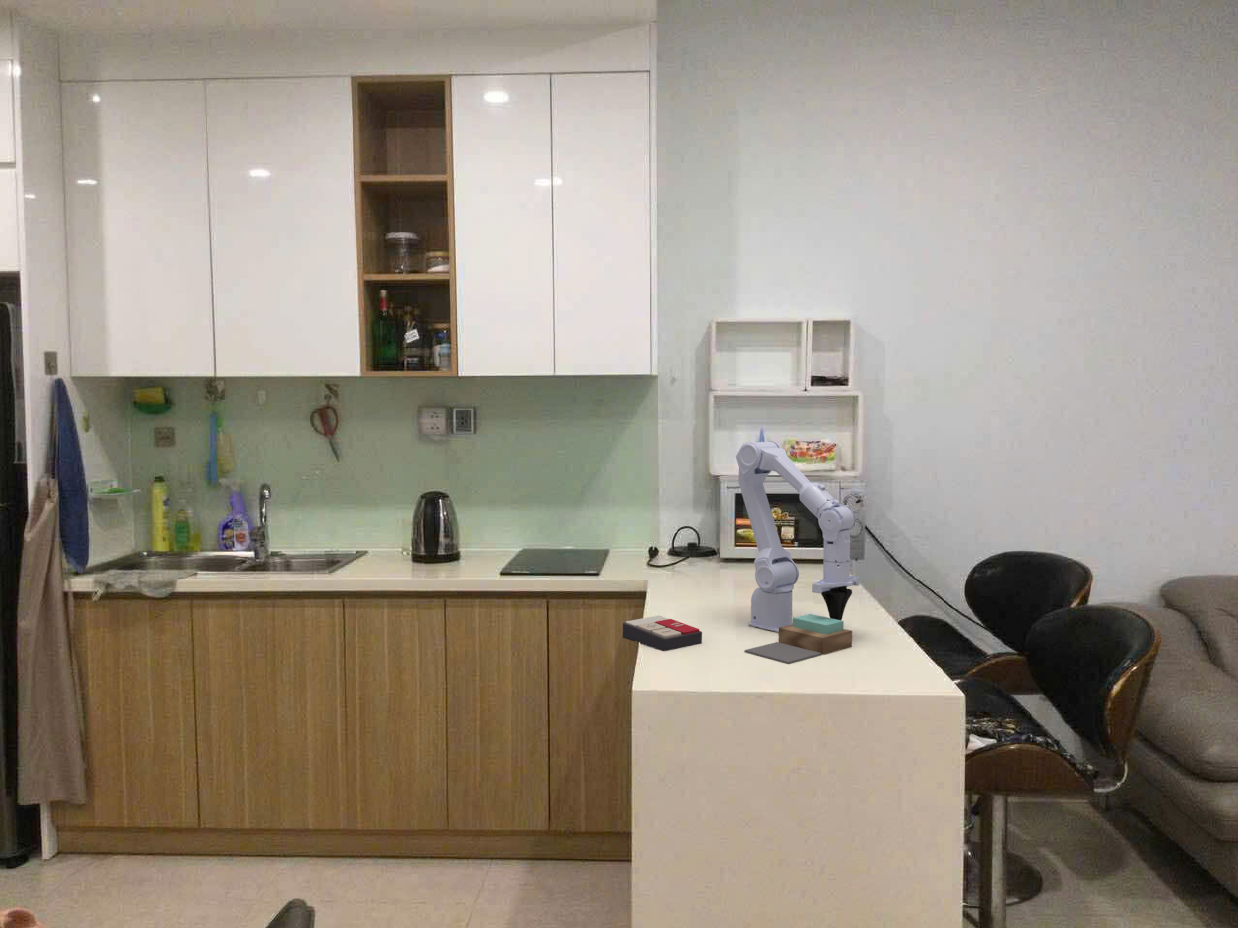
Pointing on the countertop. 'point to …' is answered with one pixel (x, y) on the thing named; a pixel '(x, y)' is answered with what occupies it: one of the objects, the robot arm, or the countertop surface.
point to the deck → (815, 639)
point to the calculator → (661, 633)
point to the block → (818, 624)
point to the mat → (782, 652)
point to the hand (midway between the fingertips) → (835, 620)
